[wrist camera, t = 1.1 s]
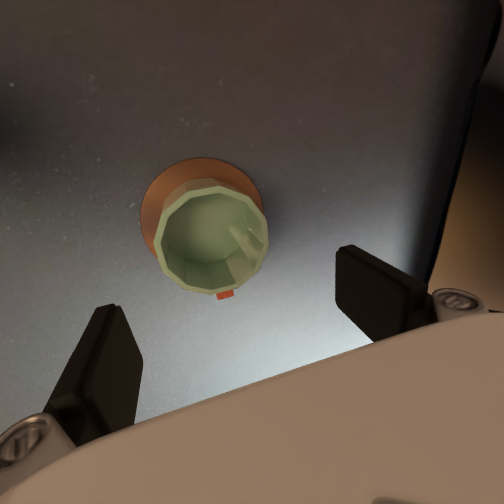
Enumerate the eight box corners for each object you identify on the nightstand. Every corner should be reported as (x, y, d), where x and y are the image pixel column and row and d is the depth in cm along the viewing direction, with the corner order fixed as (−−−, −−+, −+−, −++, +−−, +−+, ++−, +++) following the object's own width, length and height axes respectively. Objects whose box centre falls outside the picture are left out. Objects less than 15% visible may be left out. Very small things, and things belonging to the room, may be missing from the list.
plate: (122, 168, 18) (120, 169, 18) (254, 148, 20) (257, 148, 20) (160, 285, 22) (160, 289, 22) (267, 259, 24) (269, 262, 24)
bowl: (147, 186, 18) (139, 200, 14) (242, 170, 20) (262, 178, 15) (175, 279, 22) (175, 313, 17) (254, 259, 23) (274, 286, 19)
